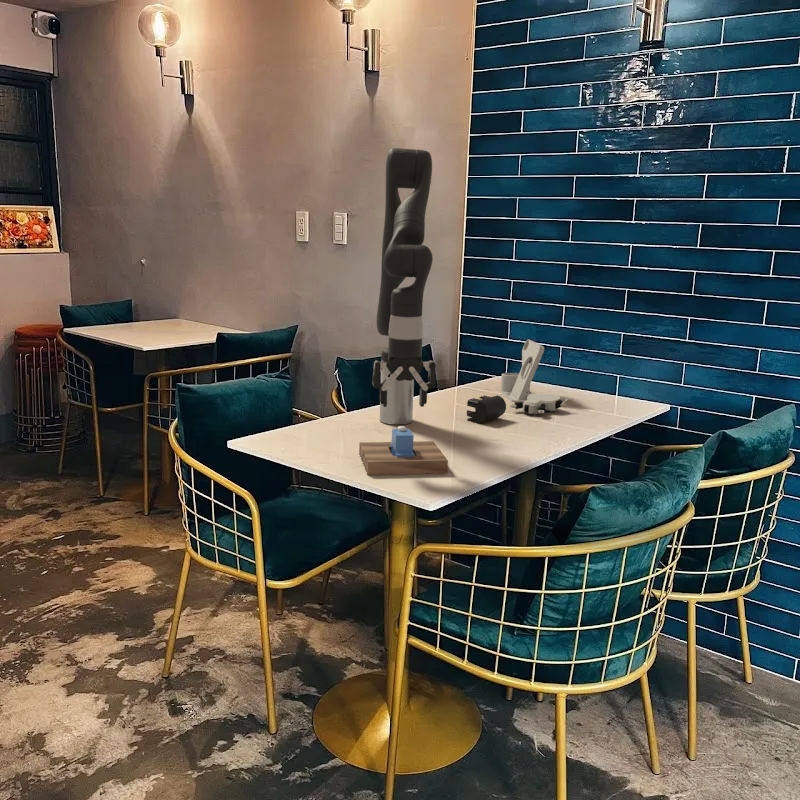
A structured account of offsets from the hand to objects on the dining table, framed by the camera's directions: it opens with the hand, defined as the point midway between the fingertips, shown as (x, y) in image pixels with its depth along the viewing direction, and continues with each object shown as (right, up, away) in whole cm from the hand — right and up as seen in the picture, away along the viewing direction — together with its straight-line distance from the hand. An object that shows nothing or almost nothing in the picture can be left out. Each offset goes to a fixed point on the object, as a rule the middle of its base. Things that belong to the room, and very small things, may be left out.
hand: (403, 406), depth 182 cm
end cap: (+24, -5, +46) cm, 52 cm away
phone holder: (+39, +2, +80) cm, 89 cm away
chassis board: (0, -13, +3) cm, 14 cm away
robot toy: (+41, -2, +59) cm, 72 cm away
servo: (0, -13, +3) cm, 14 cm away
